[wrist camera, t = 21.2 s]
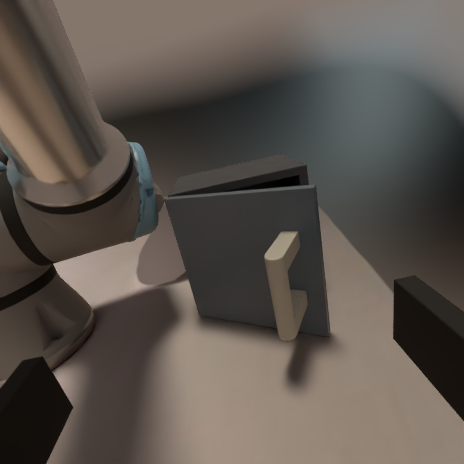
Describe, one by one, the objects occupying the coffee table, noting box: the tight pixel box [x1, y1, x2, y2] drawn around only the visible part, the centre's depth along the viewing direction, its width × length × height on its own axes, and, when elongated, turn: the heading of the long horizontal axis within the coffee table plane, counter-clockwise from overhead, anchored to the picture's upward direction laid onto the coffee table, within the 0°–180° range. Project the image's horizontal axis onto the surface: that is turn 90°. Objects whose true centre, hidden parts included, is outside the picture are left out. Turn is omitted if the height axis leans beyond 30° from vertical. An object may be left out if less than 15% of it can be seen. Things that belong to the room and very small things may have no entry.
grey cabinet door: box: [165, 184, 330, 341], centre depth 28 cm, size 6×16×16 cm, turn 64°
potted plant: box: [153, 183, 164, 212], centre depth 89 cm, size 12×13×15 cm
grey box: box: [168, 155, 309, 198], centre depth 40 cm, size 12×16×16 cm
